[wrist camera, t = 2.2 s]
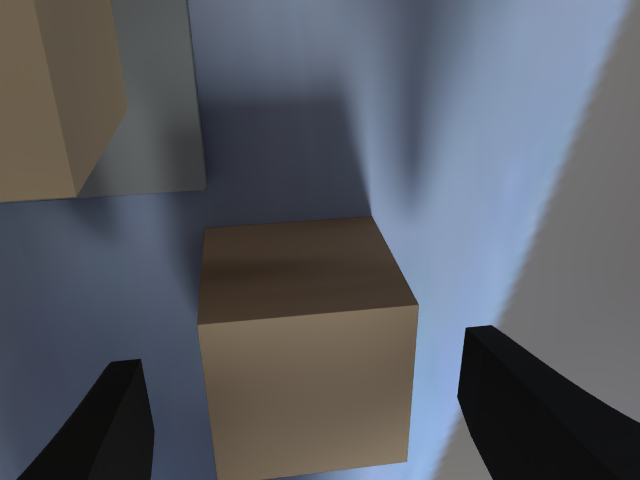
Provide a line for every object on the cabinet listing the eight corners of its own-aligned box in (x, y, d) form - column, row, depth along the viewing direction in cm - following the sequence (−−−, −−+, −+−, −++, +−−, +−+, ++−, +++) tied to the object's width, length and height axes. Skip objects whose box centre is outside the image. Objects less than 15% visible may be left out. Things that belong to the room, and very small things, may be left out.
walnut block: (367, 347, 18) (406, 461, 14) (220, 361, 17) (218, 484, 13) (371, 214, 16) (418, 304, 12) (204, 226, 15) (196, 325, 11)
